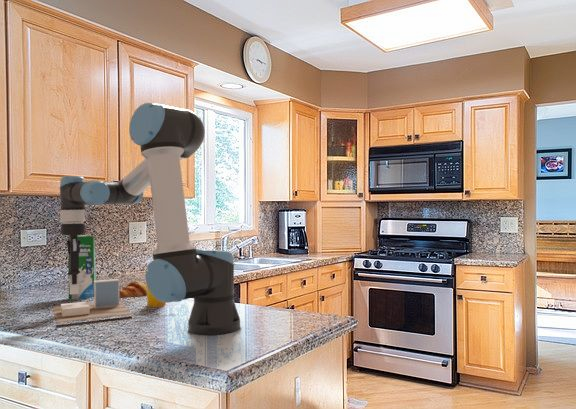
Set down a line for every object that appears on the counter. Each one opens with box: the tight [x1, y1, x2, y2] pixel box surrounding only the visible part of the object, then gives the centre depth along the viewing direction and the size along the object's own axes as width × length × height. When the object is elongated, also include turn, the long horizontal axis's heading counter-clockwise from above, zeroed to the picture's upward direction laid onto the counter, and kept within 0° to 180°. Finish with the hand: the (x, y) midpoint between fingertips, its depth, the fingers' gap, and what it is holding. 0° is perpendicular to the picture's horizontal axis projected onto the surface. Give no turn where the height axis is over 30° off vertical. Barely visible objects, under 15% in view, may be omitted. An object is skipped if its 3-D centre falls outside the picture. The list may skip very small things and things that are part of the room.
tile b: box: [93, 278, 120, 308], centre depth 166 cm, size 3×8×9 cm, turn 118°
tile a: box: [60, 301, 90, 317], centre depth 156 cm, size 3×8×9 cm
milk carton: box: [67, 234, 97, 301], centre depth 188 cm, size 9×9×25 cm
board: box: [52, 299, 133, 329], centre depth 160 cm, size 26×22×2 cm
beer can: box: [146, 286, 167, 308], centre depth 167 cm, size 6×6×15 cm
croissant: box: [119, 281, 147, 299], centre depth 190 cm, size 21×10×8 cm, turn 140°
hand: (74, 293), depth 159 cm, fingers closed
